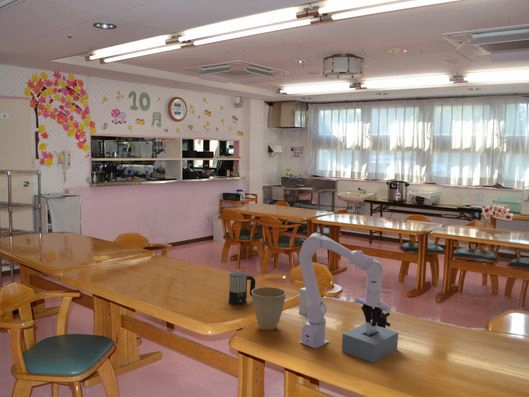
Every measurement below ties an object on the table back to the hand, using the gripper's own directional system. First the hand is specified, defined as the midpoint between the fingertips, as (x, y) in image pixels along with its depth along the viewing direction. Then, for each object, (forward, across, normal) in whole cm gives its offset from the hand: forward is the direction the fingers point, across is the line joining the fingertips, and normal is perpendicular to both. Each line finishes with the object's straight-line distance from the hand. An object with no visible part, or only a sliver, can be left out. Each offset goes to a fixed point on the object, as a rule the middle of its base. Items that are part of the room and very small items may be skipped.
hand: (371, 324), depth 180 cm
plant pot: (+10, +43, +13) cm, 46 cm away
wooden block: (+4, 0, 0) cm, 4 cm away
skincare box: (+10, +44, -15) cm, 48 cm away
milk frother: (+10, +80, -3) cm, 80 cm away
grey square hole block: (+10, 0, 0) cm, 10 cm away
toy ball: (+10, +10, -24) cm, 28 cm away
